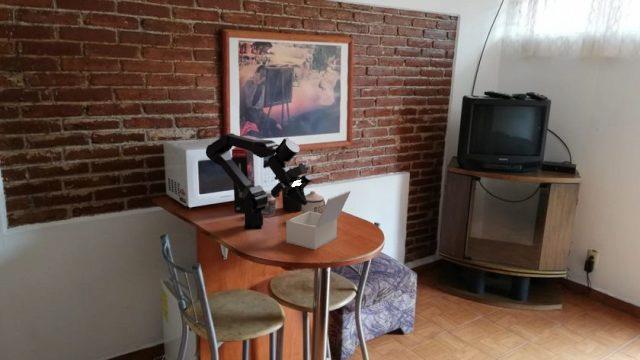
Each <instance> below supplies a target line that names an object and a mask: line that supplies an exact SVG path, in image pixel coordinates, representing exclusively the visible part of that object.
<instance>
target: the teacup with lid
mask: <svg viewBox="0 0 640 360" xmlns="http://www.w3.org/2000/svg"><path fill="white" fill-rule="evenodd" d="M305 197H306V200H307V204H306V205H303V204H302V210H301V214H304V213H306V212H309V211H310V212H315V213H320V214H322V212H323V209H324V207H325V205H326V201H325V198H324V196H322V195H320V194H318V193H316V191H314V190H311V191H309V193H307V194H305Z"/></svg>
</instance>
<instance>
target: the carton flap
mask: <svg viewBox="0 0 640 360" xmlns="http://www.w3.org/2000/svg"><path fill="white" fill-rule="evenodd" d="M350 194H351V190H350V189H348V190H346V191H343V192H341V193H339V194H337V195H334V196H331V197H329V198H328V199H327V200H326V202H325V207H324V209H323V212H322V214H321V216H320V218H319V220H318V223H317V225H316V228H318V227H320V226H322V225H324V224H326V223H328V222H330V221H333V220H335V219H337V220H338V218H339V217H340V214H341V212H342V211H343V208H344V206H345V205H346V202H347V200H348V198H349V196H350Z"/></svg>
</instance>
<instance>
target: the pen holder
mask: <svg viewBox="0 0 640 360" xmlns="http://www.w3.org/2000/svg"><path fill="white" fill-rule="evenodd" d="M285 194H286V191H285V190H284V191H281V197H282V198H281V200H282V202H281V203H282V210H283V211H284V212H287V213H298V212H302V204H301V203H299V202H297V201H295V200H293V199H291V198H289V197H287V196H285Z"/></svg>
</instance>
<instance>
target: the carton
mask: <svg viewBox="0 0 640 360" xmlns="http://www.w3.org/2000/svg"><path fill="white" fill-rule="evenodd" d="M320 216H321V214H320V213H315V212H310V211H309V212H306V213H304V214H302V213H301V214H299V215H296V216H294V217H292V218H290V219H288V220H286V222H285V223H286V225H285V227H286V229H285V230H286V233H285V234H286V236H285V237H286V240H285V241H286V243H287V244H290V245H293V246H294V245H296V246H298V247H299V246H300V247H303V248H307V249H311V250H314V251H315V250H317V249H319V248H321V247H323V246H325V245H326V244H328V243H330V242H332V241H334V240H336V239H337V237H338V236H337V235H338V231H337V230H338V218H337V219H335V220H333V221H330V222H328V223H326V224H324V225H322V226H320V227H318V228H316V225H317V223H318V220H319V218H320Z"/></svg>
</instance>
